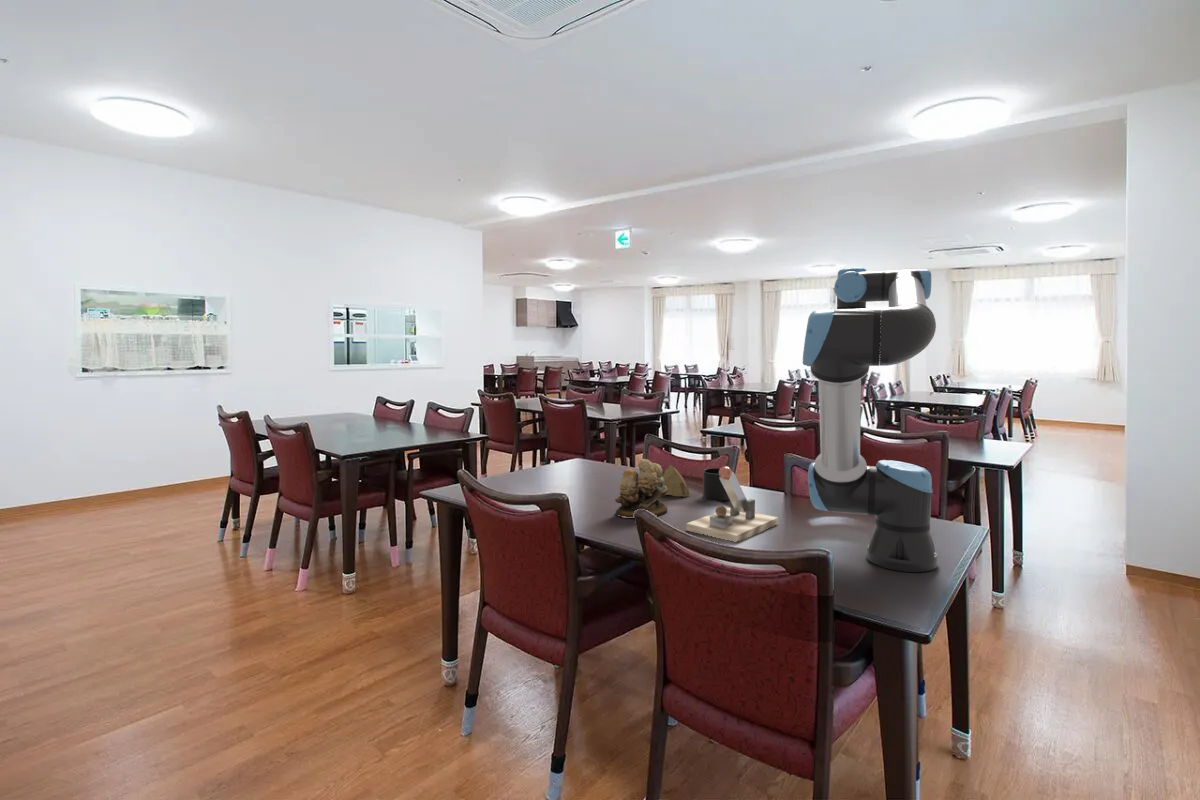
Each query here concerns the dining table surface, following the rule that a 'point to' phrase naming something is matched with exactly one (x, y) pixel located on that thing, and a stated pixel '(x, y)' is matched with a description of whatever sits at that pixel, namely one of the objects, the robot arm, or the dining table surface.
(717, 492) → the mug
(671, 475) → the rock
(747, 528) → the tan bracket base plate
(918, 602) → the dining table surface
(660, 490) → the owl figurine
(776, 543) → the dining table surface
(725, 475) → the lever
